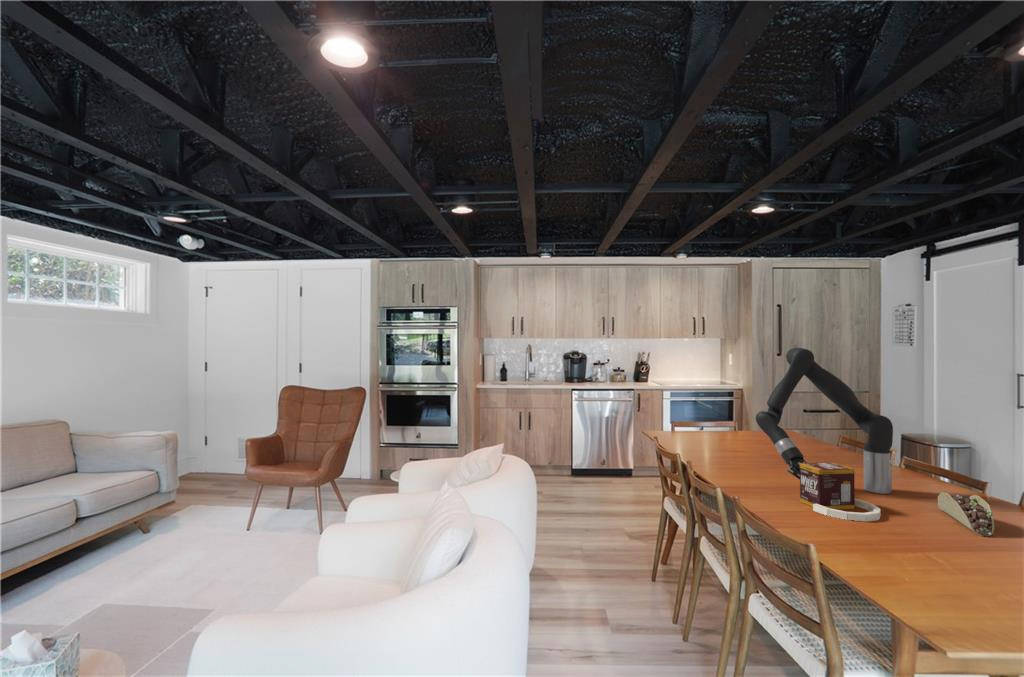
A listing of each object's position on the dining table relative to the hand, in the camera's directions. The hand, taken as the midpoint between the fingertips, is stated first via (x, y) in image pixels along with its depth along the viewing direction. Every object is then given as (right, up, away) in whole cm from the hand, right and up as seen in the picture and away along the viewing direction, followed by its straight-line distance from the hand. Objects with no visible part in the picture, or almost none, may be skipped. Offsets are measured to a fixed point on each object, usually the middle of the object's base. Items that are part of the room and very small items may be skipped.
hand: (814, 487), depth 191 cm
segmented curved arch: (+5, -5, -15) cm, 17 cm away
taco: (+38, -5, -24) cm, 45 cm away
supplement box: (+1, -5, -6) cm, 8 cm away
